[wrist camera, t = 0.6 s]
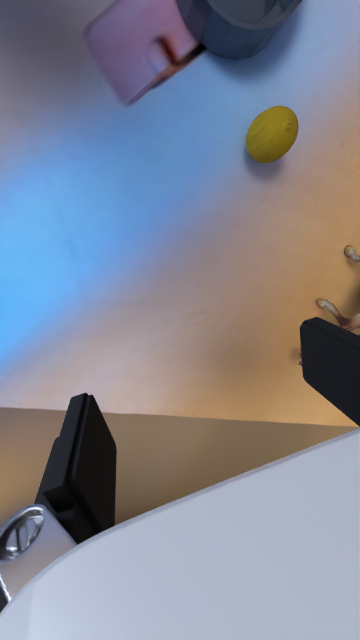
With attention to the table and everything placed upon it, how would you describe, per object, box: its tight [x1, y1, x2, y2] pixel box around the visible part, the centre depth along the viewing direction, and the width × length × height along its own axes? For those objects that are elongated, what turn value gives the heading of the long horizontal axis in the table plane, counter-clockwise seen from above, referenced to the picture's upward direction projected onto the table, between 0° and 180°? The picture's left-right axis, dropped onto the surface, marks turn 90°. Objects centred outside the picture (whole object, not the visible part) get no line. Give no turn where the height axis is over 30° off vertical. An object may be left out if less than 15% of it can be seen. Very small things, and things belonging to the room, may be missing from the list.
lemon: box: [246, 106, 298, 163], centre depth 32 cm, size 6×6×8 cm
